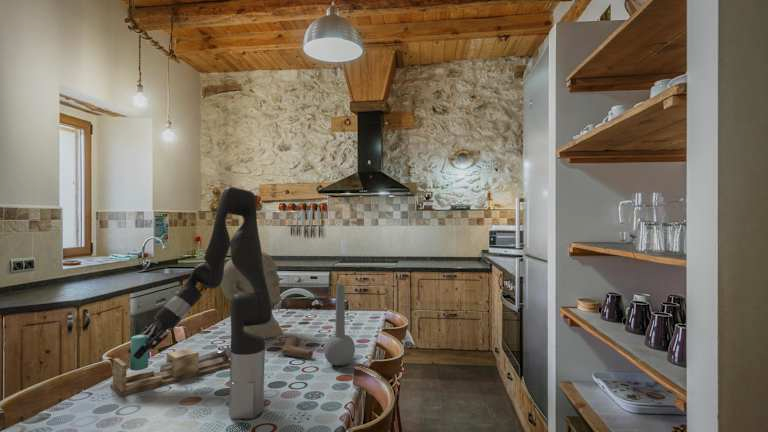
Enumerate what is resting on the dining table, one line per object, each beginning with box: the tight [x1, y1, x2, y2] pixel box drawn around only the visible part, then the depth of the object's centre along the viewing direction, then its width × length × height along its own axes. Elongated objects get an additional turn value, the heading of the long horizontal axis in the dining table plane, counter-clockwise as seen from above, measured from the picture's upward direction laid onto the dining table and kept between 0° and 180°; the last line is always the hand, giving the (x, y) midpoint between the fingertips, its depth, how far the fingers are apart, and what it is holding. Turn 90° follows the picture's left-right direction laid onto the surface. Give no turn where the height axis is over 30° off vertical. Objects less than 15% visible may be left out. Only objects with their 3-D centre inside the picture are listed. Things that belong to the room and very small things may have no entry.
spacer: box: [129, 334, 150, 371], centre depth 129 cm, size 5×5×10 cm
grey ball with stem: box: [323, 284, 356, 367], centre depth 154 cm, size 12×19×30 cm, turn 12°
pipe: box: [281, 335, 314, 360], centre depth 162 cm, size 6×17×10 cm
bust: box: [220, 251, 283, 340], centre depth 191 cm, size 25×28×40 cm
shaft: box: [159, 345, 231, 372], centre depth 142 cm, size 24×5×5 cm, turn 139°
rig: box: [109, 347, 230, 397], centre depth 137 cm, size 37×11×9 cm, turn 139°
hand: (132, 355), depth 127 cm, fingers closed on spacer, 5 cm apart
